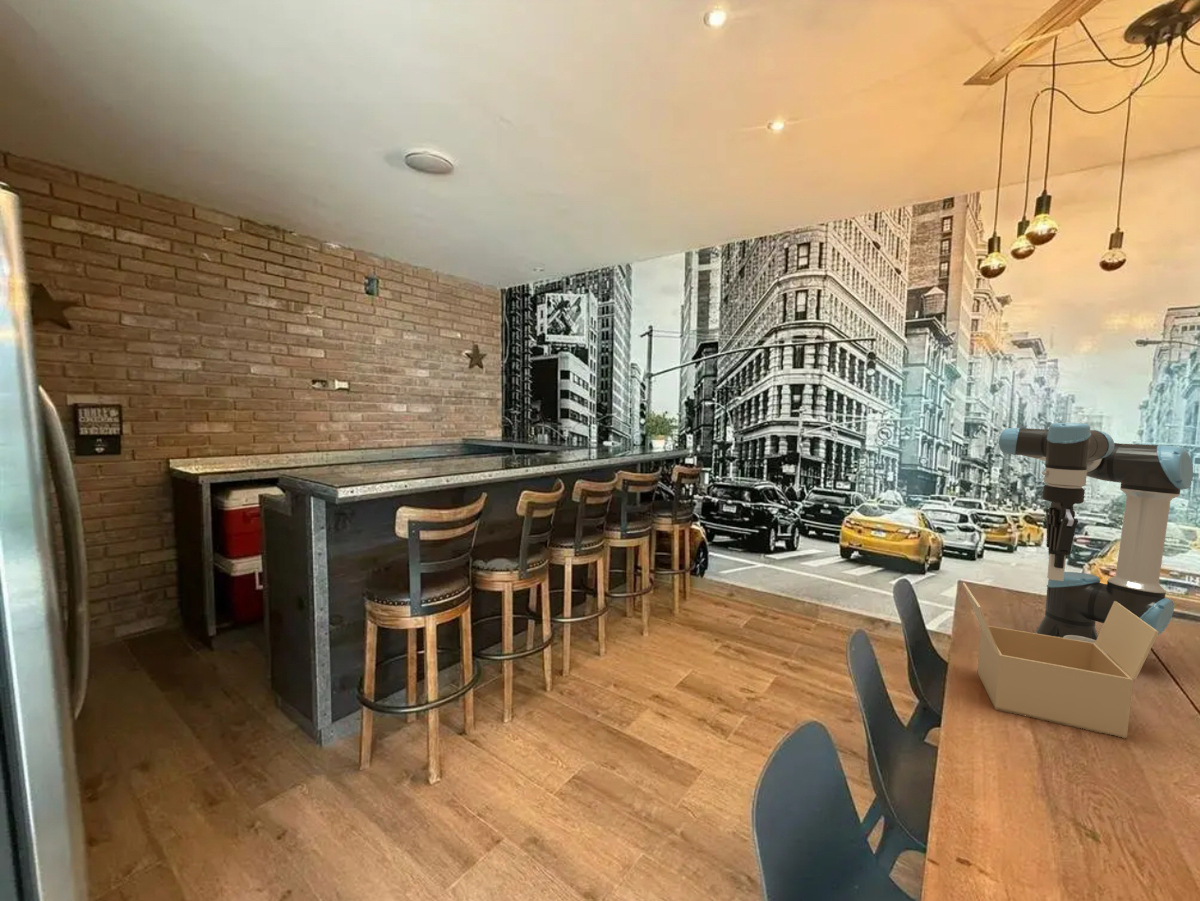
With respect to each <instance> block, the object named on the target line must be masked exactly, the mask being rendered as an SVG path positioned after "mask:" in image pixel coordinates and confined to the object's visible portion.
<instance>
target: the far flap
mask: <svg viewBox="0 0 1200 901" xmlns="http://www.w3.org/2000/svg"><path fill="white" fill-rule="evenodd" d="M962 585H963V588H964V590H965V593H966V595H967V598H968V600H969V602H970V604H971V607H972V609H973V612H974V615H975V617H976V620H977V622H978V625H979V627H980V629H981V628H982V630H983V632H984V633H985V635H986V637H987V638H988V640H989V642H990V643H991V645H992V647H993V648H994V650H995V652H996V653H997V654H999V651H998V649H997V646H996V644H995V641H994V639H993V636H992V634H991V631H990V629H989V626H990V625H989V624H988V621H987V619H986V617H985V614H984V611H983V609H982V607H981V605H980V603H979V602H978V600H977V599H976V598H975V596H974V595H973V593H972V592H971V590H970V588H969V586H967V584H966V582H962Z"/></svg>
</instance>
